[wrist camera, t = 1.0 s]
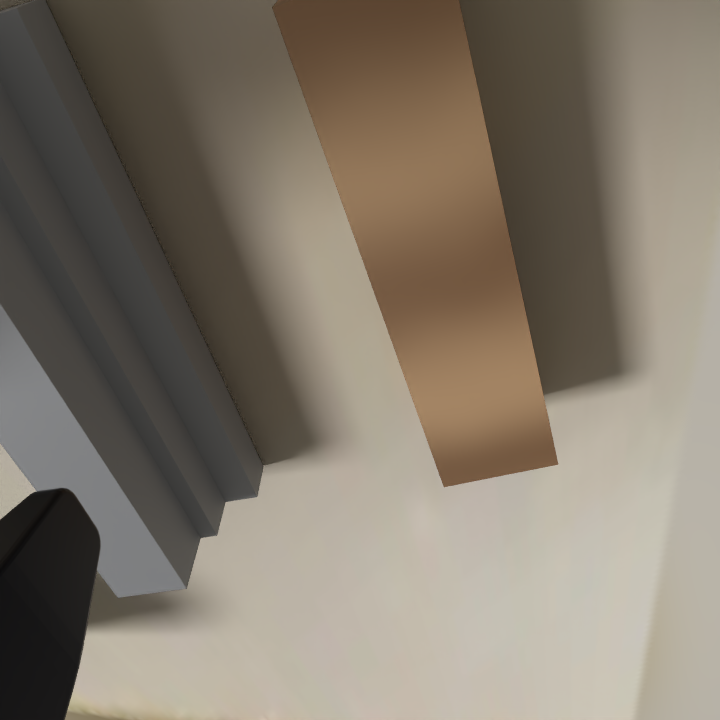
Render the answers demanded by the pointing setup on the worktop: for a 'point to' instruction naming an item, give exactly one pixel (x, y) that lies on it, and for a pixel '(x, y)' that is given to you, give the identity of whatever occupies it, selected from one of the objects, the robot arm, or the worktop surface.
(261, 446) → the worktop surface
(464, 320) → the brown wooden bar
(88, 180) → the ridge
